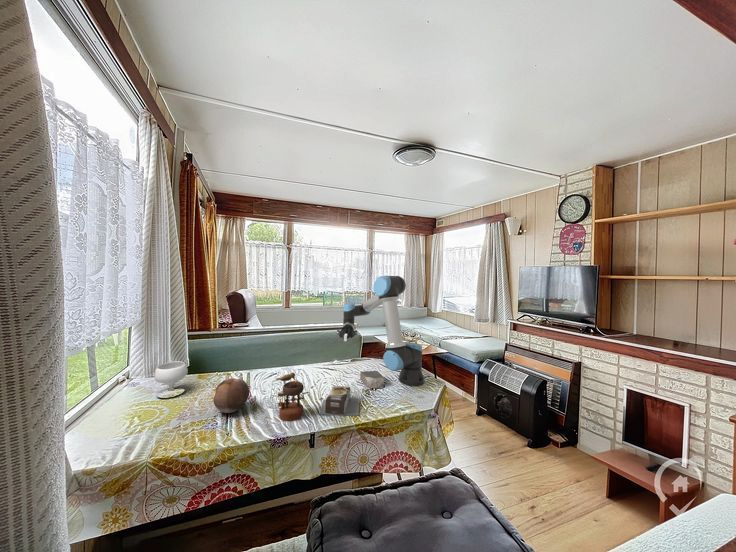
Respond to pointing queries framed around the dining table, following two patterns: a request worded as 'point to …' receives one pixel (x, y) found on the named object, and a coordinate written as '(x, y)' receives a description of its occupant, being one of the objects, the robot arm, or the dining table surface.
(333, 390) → the coffee box
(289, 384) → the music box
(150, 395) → the dining table surface
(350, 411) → the rubber mat
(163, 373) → the chalice
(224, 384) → the wooden sphere
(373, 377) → the geological specimen
